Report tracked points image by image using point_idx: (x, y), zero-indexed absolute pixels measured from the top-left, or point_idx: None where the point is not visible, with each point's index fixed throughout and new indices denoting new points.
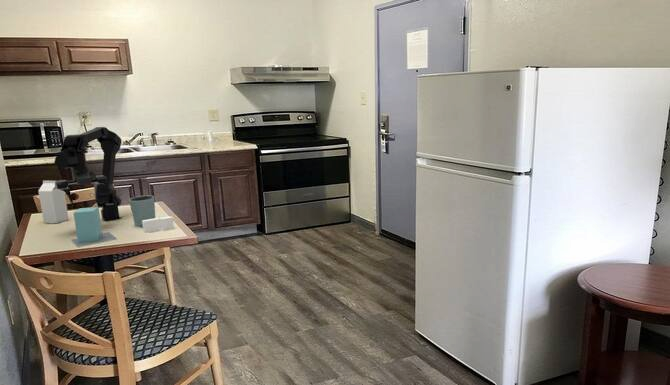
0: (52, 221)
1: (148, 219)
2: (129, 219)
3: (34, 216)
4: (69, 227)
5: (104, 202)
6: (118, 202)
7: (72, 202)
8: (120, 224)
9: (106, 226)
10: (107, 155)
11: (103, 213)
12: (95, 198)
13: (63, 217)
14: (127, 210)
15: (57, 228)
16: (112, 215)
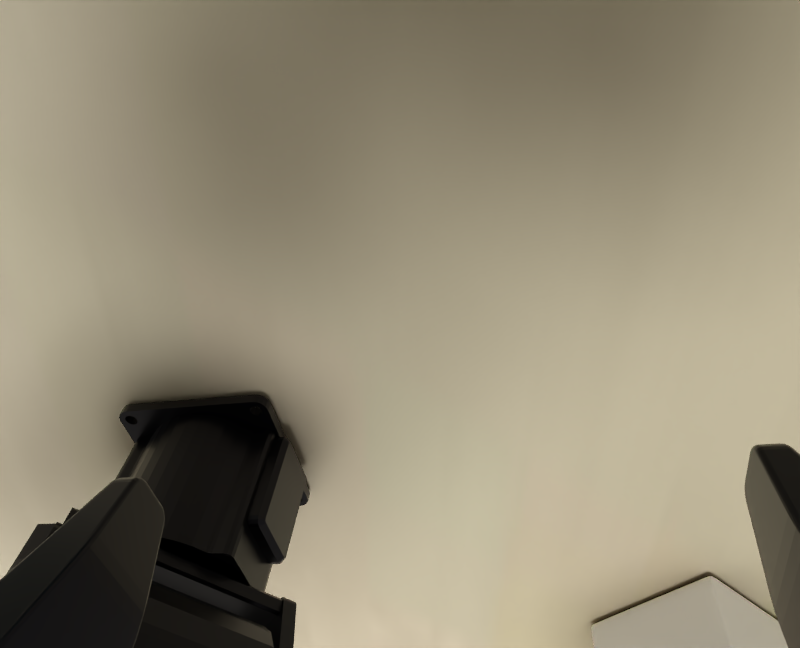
0: (745, 609)
1: None
2: (9, 318)
3: None
4: (649, 387)
5: (171, 597)
6: (14, 563)
7: (785, 473)
8: (53, 146)
9: (229, 157)
10: None
11: (261, 489)
12: (152, 547)
13: (642, 636)
14: None
15: (768, 423)
16: (179, 441)
